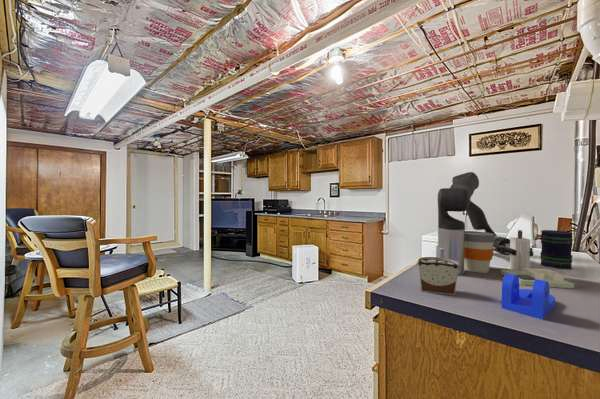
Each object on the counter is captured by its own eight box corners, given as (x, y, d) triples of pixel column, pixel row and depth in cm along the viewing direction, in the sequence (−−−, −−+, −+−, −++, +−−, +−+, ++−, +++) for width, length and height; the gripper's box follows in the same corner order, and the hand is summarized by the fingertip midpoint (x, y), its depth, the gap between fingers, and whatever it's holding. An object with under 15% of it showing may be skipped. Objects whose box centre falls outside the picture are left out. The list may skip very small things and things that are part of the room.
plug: (516, 271, 105) (516, 230, 104) (509, 268, 109) (510, 229, 109) (530, 272, 104) (531, 231, 103) (523, 269, 108) (524, 229, 108)
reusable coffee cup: (501, 274, 101) (502, 235, 100) (465, 273, 103) (466, 235, 102) (483, 265, 113) (484, 231, 113) (452, 264, 115) (453, 230, 115)
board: (520, 284, 90) (521, 274, 90) (501, 273, 102) (501, 264, 102) (574, 288, 86) (574, 278, 86) (546, 276, 99) (547, 267, 99)
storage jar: (538, 265, 114) (539, 231, 113) (541, 262, 120) (542, 229, 120) (571, 270, 106) (572, 234, 106) (572, 266, 113) (573, 231, 113)
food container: (455, 288, 86) (456, 258, 86) (460, 295, 80) (460, 263, 80) (414, 284, 90) (415, 255, 90) (416, 290, 84) (416, 259, 84)
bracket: (542, 320, 65) (543, 284, 64) (501, 308, 71) (502, 275, 71) (558, 302, 75) (558, 271, 75) (521, 293, 82) (521, 265, 82)
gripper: (484, 236, 122) (503, 243, 106) (519, 237, 119) (545, 244, 102) (483, 252, 122) (502, 261, 106) (519, 254, 119) (544, 263, 103)
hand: (523, 253), depth 104 cm, fingers closed on plug, 5 cm apart
